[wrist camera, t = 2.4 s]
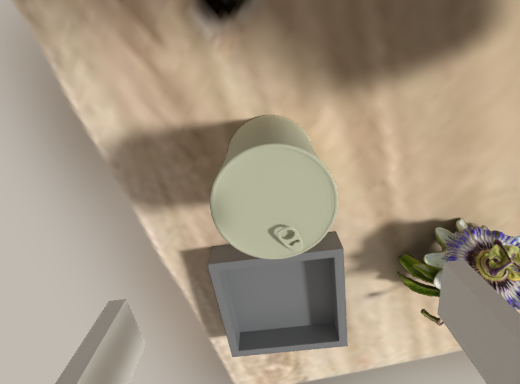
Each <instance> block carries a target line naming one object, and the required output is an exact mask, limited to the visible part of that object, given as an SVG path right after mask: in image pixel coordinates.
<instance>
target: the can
mask: <svg viewBox="0 0 520 384" xmlns="http://www.w3.org/2000/svg"><path fill="white" fill-rule="evenodd" d="M210 209H211V215H212V218H213V221H214V224H215V226H216V228H217V229H218V231H219V232H220V234H221V235H222V236H223V238H224V239H225V240H226V241H227V242H228V243H229V244H231V245H232V246H233V247H235V248H236V249H238V250H239V251H241V252H243V253H245V254H248V255H250V256H254V257H257V258H263V259H284V258H289V257H293V256H296V255H299V254H301V253H304V252H305V251H307V250H309V249H311V248H312V247H314V246H315V245H316V244H318V243H319V242H320V241H321V240H322V239H323V238H324V237H325V235H326V234H327V233H328V231H329V230H330V228H331V227H332V225H333V222H334V220H335V217H336V214H337V209H338V191H337V187H336V184H335V181H334V178H333V176H332V175H331V173H330V171H329V170H328V168H327V167H326V166H325V165H324V163H323V162H322V161H321V160H320V158H319V156H318V155H317V153H316V152H315V150H314V149H313V146H312V143H311V141H310V138H309V137H308V135H307V133H306V132H305V131H304V130H303V129H302V128H301V127H300V126H299V125H298V124H297V123H295V122H294V121H292V120H290V119H288V118H285V117H281V116H275V115H266V116H260V117H257V118H254V119H252V120H250V121H248V122H246V123H245V124H244V125H242V126H241V127H240V128H239V129H238V130H237V131H236V133H235V134H234V135H233V137H232V139H231V141H230V143H229V147H228V151H227V156H226V158H225V161H224V163H223V165H222V168H221V170H220V171H219V173H218V175H217V176H216V178H215V180H214V183H213V186H212V189H211V194H210Z"/></svg>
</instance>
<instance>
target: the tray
mask: <svg viewBox="0 0 520 384" xmlns="http://www.w3.org/2000/svg"><path fill="white" fill-rule="evenodd" d="M207 265H208V269H209V272H210V276H211V280H212V284H213V287H214V291H215V295H216V298H217V302H218V306H219V309H220V313H221V317H222V320H223V324H224V328H225V331H226V335H227V339H228V342H229V346H230V350H231V354H232V357H238V356H248V355H259V354H269V353H279V352H290V351H300V350H311V349H321V348H331V347H342V346H348V344H347V322H346V299H345V276H344V253H343V247H342V244H341V242H340V240H339V238H338V235H337V233H336V232H328V233H327V234H326V235H325V237H324V238H323V239H322V240H321V241H320V242H319V243H318V244H316V245H315V246H314V247H312V248H311V249H309V250H307V251H305V252H304V253H301V254H299V255H296V256H293V257H289V258H284V259H263V258H257V257H254V256H250V255H248V254H245V253H243V252H241V251H239V250H238V249H236V248H235V247H233V246H232V245H231V244H230V245H222V246H214V247H212V250H211V253H210V257H209V261H208V264H207Z"/></svg>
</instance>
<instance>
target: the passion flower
mask: <svg viewBox="0 0 520 384" xmlns="http://www.w3.org/2000/svg"><path fill="white" fill-rule="evenodd" d="M455 231H456V232H455V233H454V234H453V233H452V232H450V231H449V230H447V229H445V228H441V227H437V228H436V229H435V239H436V240H437V242H438V243H439V245H440V246H441V247H442V251H441V252H438V253H436V252H435V253H428V254H426V255H425V256H424V259H423V260H424V261H425V263H426V264H427V265H426V264H425V263H423V262H421V261H419V260H417V259H415V258H414V257H412V256H410V255H407V254H403V255H402V256H400V257H399V261H400V264H401V265H402V266H403V267H404V269H405V270H406V271H407V272H408V273H409V274H411V275H412V276H413V277H416V278H419V279H421V280H423V281H425V282H429V283H432V284H434V285H435V287H433V286H430V285H425V284H422V283H419V282H417V281H414V280H412V279H411V278H407V277H405V276H403V275H401V274H400V273H399V272H397V274H398V275H399V277H400V278H401V279H402V281H403V282H404V284H405V285H406V286H408V287H409V288H410V289H411V290H412V291H415V292H417V293H419V294H423V295H427V296H437V297H440V289H441V281H442V272H443V263H444V262H448V261H457V260H465V261H466V262H467V263H468V264H469V265H470V266H471V267H472V268H473V269H474V270H475V271H476V272H477V273H478V274H479V275H480V276H481V277H482V278H483V279H484V280H485V281H486V282H487V283H488V284H489V285H490V286H492V287H493V288H494V289H495V290H496V291H497V292H498V293H499V294H500V295H501V296H502V297H503V298H504V299H505V300H506V301H507V302H508V303H509V304H510V305H511V306H512V307H513V308H514V309H515V310H516V309H519V310H520V236H517V237H512V236H511V237H510V236H507V235H504V234H503V233H502V232H499V231H490V230H489V229H488V228H487V227H486V226H482V227H469V226H468V225H467V223H466V222H465V221H464V220H463V219H462V218H461V219H459V220H458V221H457V222H456V225H455ZM421 313H422V314H423V315H424V316H425V317H427V318H429V319H430V320H432V321H434V322H436V323H437V324H438V325H439V326H440V325H442V324H443V323H444V322H442V323H440V320H441V319H440V318H436V317H434V316H432V315H430V314H429V313H428V312H427V311H426V310H425V309H422V310H421Z"/></svg>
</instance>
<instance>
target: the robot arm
mask: <svg viewBox="0 0 520 384" xmlns="http://www.w3.org/2000/svg"><path fill="white" fill-rule="evenodd" d="M438 315H439V316H440V318H441V319H442V321H443V322H444V324H445V325H446V326H447V328H448V329H449V331H450V332H451V333H452V335H453V336H454V338H455V339H456V341H457V342H458V343H459V345H460V346H461V348H462V349H463V350H464V352H465V353H466V355H467V356H468V358H469V359H470V360H471V362H472V363H473V364H474V366H475V367H476V369H477V370H478V372H479V373H480V375H481V376H482V377H483V379H484V380H485V382H486V383H487V384H520V314H519V313H518V312H517V311H516V310H515V309H514V308H513V307H512V306H511V305H510V304H509V303H508V302H507V301H506V300H505V299H504V298H503V297H502V296H501V295H500V294H499V293H498V292H497V291H496V290H495V289H494V288H493V287H492V286H490V285H489V284H488V283H487V282H486V281H485V280H484V279H483V278H482V277H481V276H480V275H479V274H478V273H477V272H476V271H475V270H474V269H473V268H472V267H471V266H470V265H469V264H468V263H467V262H466V261H465V260H457V261H448V262H444V263H443V272H442V281H441V289H440V298H439V306H438ZM145 346H146V344H145V341H144V339H143V337H142V335H141V332H140V330H139V328H138V325H137V324H136V321H135V318H134V316H133V314H132V311H131V309H130V307H129V305H128V302H127V300H126V299H123V300H115V301H109V302H108V303H107V305H106V307H105V308H104V310H103V311H102V313H101V314H100V316H99V317H98V319H97V320H96V322H95V323H94V325H93V327H92V328H91V330H90V331H89V333H88V334H87V336H86V337H85V339H84V340H83V342H82V343H81V345H80V347H79V348H78V350H77V351H76V353H75V354H74V356H73V357H72V359H71V360H70V362H69V363H68V365H67V366H66V368H65V370H64V371H63V373H62V374H61V376H60V378H59V379H58V380H57V382H56V383H55V384H130V381H131V379H132V377H133V374H134V372H135V370H136V367H137V365H138V362H139V360H140V358H141V355H142V352H143V350H144V348H145Z"/></svg>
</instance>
